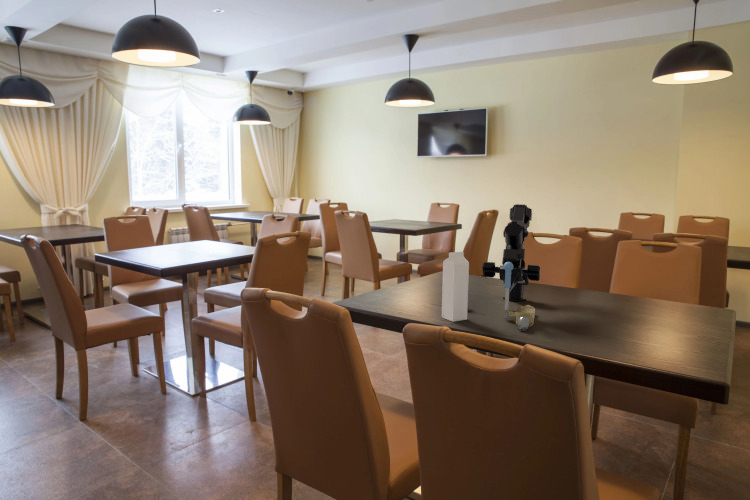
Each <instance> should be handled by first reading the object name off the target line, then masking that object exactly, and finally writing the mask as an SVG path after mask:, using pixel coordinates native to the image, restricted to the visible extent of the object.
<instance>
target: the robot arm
mask: <svg viewBox="0 0 750 500" xmlns="http://www.w3.org/2000/svg"><path fill="white" fill-rule="evenodd" d="M532 210H533V209H532V208H530V207H528V206H527V204H519V203H517V204H513V206H512V207H511V208H510V209H509V222H507V225H506V226H505V227H504V229H503V234H502V235H503V238H504V240H505V249H503V254H502V262H501V264H502V265H501V264H500V266H496V262H494V261H485V262H483V263H482V267H481V268H482V276H483V277H484V278H494V277H496V274H498V276H499V280H501V281H503V284H504V285H505V269H504V264H505V263H506V262H511V263H512V264H513V269H512V270H511V286H510V288H509V301H512V302H515V303H516V302H522V301H526V300H527V298H526V297H524V291H525V290H524V287H525V286H528V285H530V284H529V283H530V282H529V281H533V282H534V281H535V282H539V281H540V280H541V266H540V265H539V264H527V267H526V262H525V255H526V254H525V253H526V249H525V248H524V243H525V239H528V237H529V235H530V234H529V231H528V228H529V227H530V224H531V223H530V221H532V219H533V211H532ZM502 299H503V300H505V296H503V297H502Z"/></svg>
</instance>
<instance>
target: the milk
mask: <svg viewBox="0 0 750 500" xmlns="http://www.w3.org/2000/svg"><path fill="white" fill-rule="evenodd" d="M464 255H465V254H464V251H452V252H449V253H448V257H447V258H445V259H444V260H443V261H442V265H443V266H442V285H441V286H442V291H441V294H442V295H441V318H442V319H445V320H447V321H450V322H460V321H465V320H468V303H469V297H468V296H469V275H470V274H469V273H470V271H469V270H470V262H469V261H468V259H466V257H465V256H464Z"/></svg>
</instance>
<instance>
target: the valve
mask: <svg viewBox="0 0 750 500" xmlns="http://www.w3.org/2000/svg"><path fill="white" fill-rule="evenodd" d="M535 312H536V308H535V307H534V306H531V305H530V304H525V305H522V304H521V305H520V306H518V307H517V308H516V310H513V309H512V310H509V309H508V317H515V325H516V328H517V329H518V330H519V331H520V332H526V331H528V329H529V328H530V327H532V326H534V323H535V314H536V313H535Z"/></svg>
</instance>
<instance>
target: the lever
mask: <svg viewBox="0 0 750 500" xmlns="http://www.w3.org/2000/svg"><path fill="white" fill-rule="evenodd" d="M504 269H505V284H504V289H505V293H504V294H505V295H504V297H505V299H504V313H503V315H504V317H503V318H508V317H509V303H510V300H509V288H510V286H511V270H512V269H513V264H512V263H511V262H506V263H505V264H504Z"/></svg>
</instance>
